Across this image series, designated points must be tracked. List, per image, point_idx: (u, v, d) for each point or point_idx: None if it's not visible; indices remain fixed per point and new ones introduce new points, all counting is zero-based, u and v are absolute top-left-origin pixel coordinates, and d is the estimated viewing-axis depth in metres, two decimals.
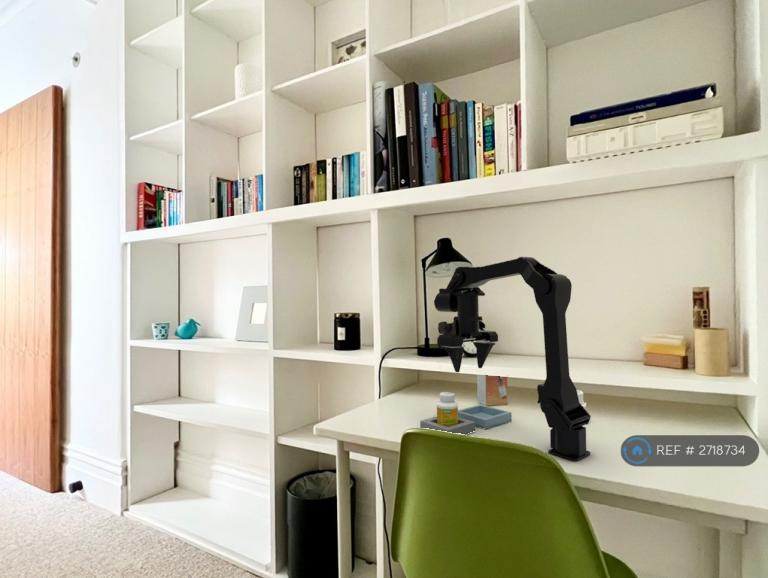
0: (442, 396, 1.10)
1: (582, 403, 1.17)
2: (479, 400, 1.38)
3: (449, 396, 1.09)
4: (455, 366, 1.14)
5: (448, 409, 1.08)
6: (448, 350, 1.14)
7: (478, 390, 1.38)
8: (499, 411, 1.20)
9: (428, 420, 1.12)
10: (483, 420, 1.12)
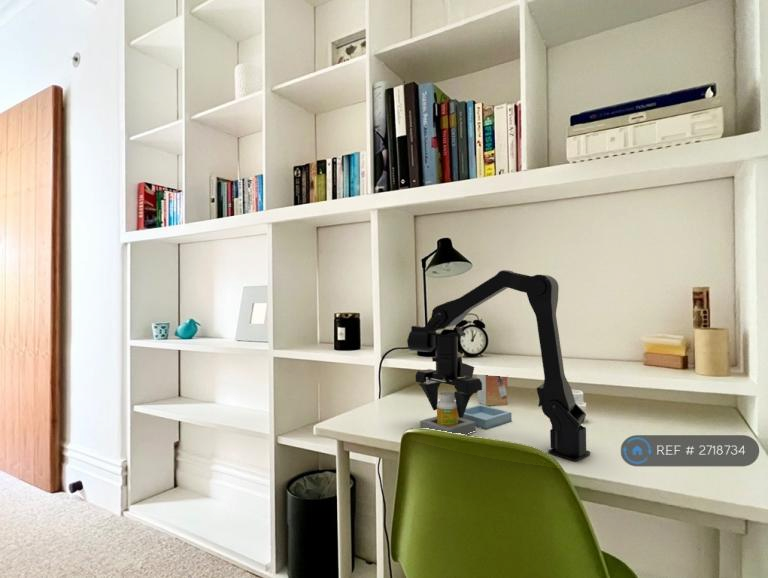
0: (442, 396, 1.10)
1: (582, 403, 1.17)
2: (479, 400, 1.38)
3: (449, 396, 1.09)
4: None
5: (448, 409, 1.08)
6: None
7: None
8: (499, 411, 1.20)
9: (428, 420, 1.12)
10: (483, 420, 1.12)
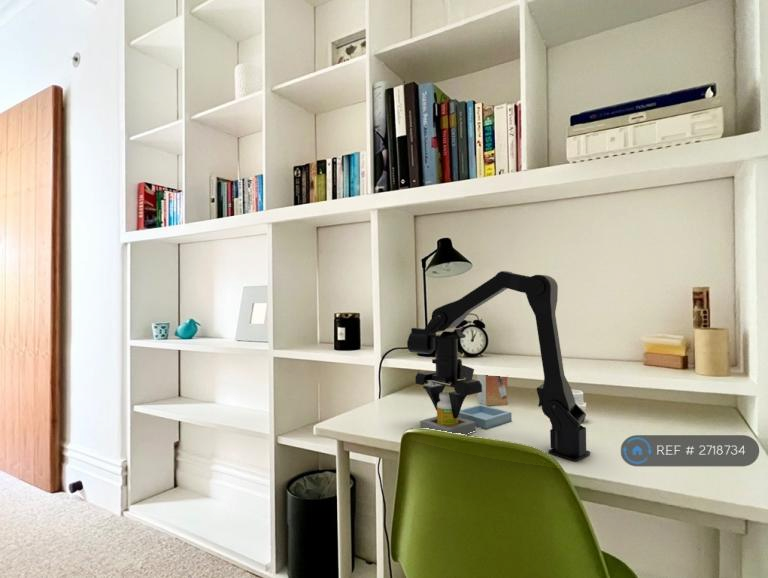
0: (442, 396, 1.10)
1: (582, 403, 1.17)
2: (479, 400, 1.38)
3: None
4: None
5: (448, 409, 1.08)
6: None
7: None
8: (499, 411, 1.20)
9: (428, 420, 1.12)
10: (483, 420, 1.12)
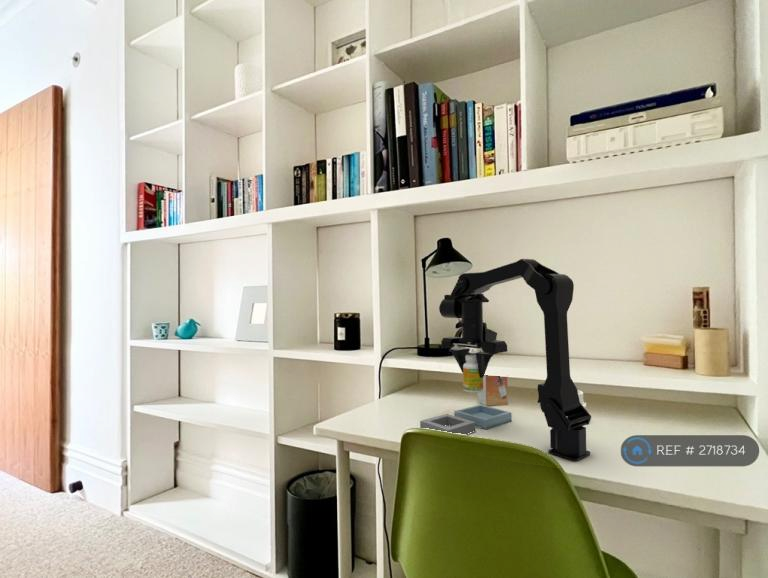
0: (468, 357, 1.16)
1: (582, 403, 1.17)
2: (479, 400, 1.38)
3: (475, 357, 1.15)
4: None
5: (475, 369, 1.15)
6: None
7: None
8: (499, 411, 1.20)
9: (428, 420, 1.12)
10: (483, 420, 1.12)
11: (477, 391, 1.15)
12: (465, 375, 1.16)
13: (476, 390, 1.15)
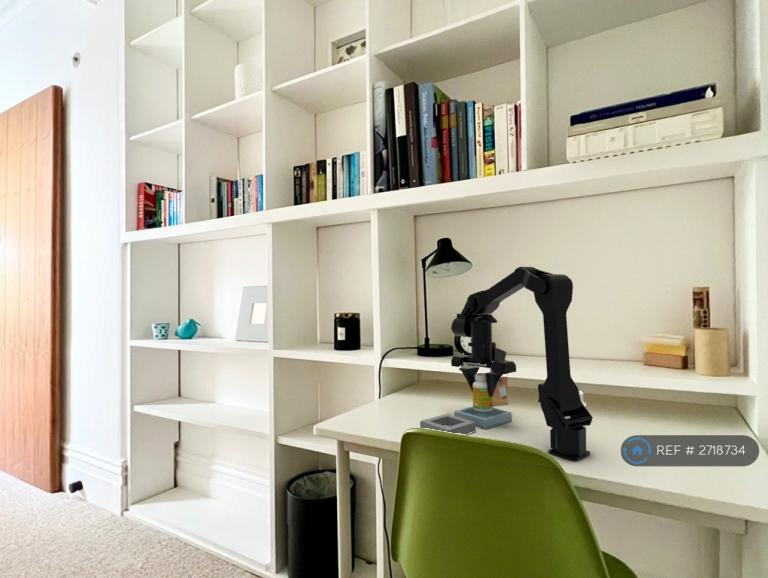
0: (478, 376, 1.18)
1: (582, 403, 1.17)
2: None
3: (485, 376, 1.18)
4: None
5: (484, 388, 1.17)
6: None
7: None
8: (499, 411, 1.20)
9: (428, 420, 1.12)
10: (483, 420, 1.12)
11: (486, 410, 1.17)
12: (475, 394, 1.18)
13: (485, 409, 1.17)
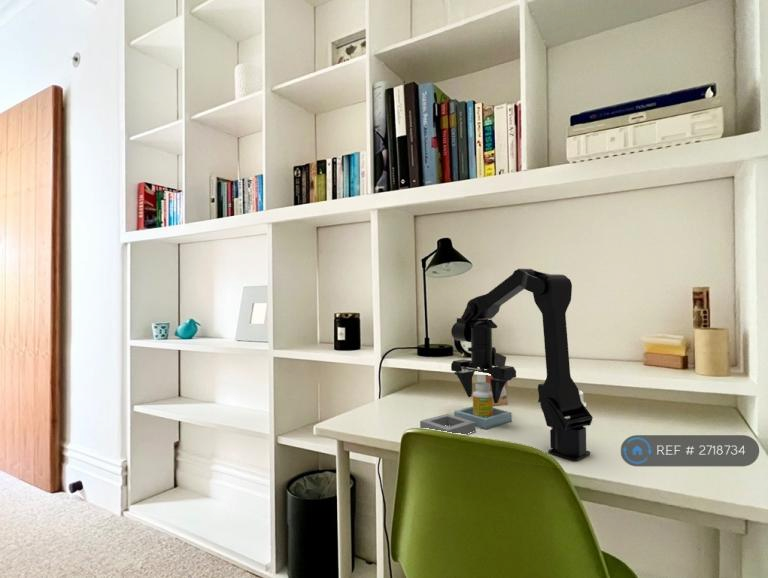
0: (478, 386, 1.18)
1: (582, 403, 1.17)
2: None
3: (485, 386, 1.18)
4: None
5: (484, 398, 1.17)
6: None
7: None
8: (499, 411, 1.20)
9: (428, 420, 1.12)
10: (483, 420, 1.12)
11: None
12: (475, 403, 1.18)
13: None
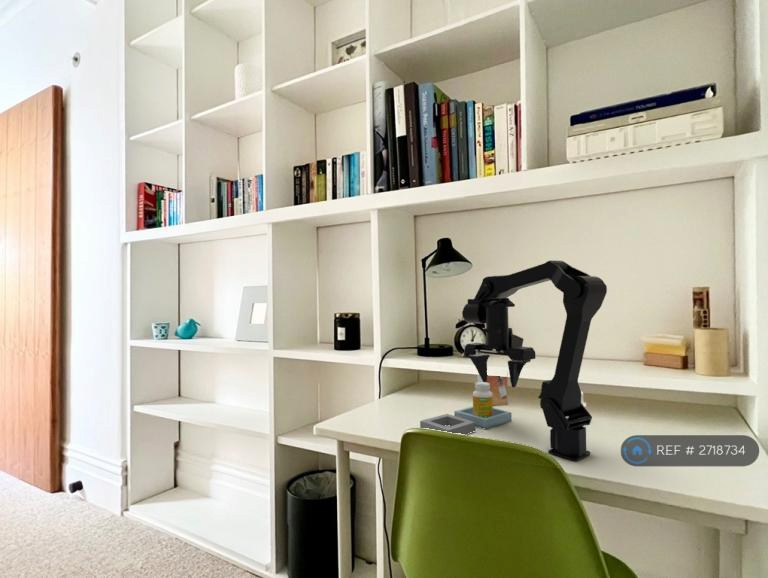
0: (478, 385, 1.18)
1: (582, 403, 1.17)
2: None
3: (485, 385, 1.18)
4: None
5: (484, 397, 1.17)
6: None
7: None
8: (499, 411, 1.20)
9: (428, 420, 1.12)
10: (483, 420, 1.12)
11: None
12: (475, 403, 1.18)
13: None
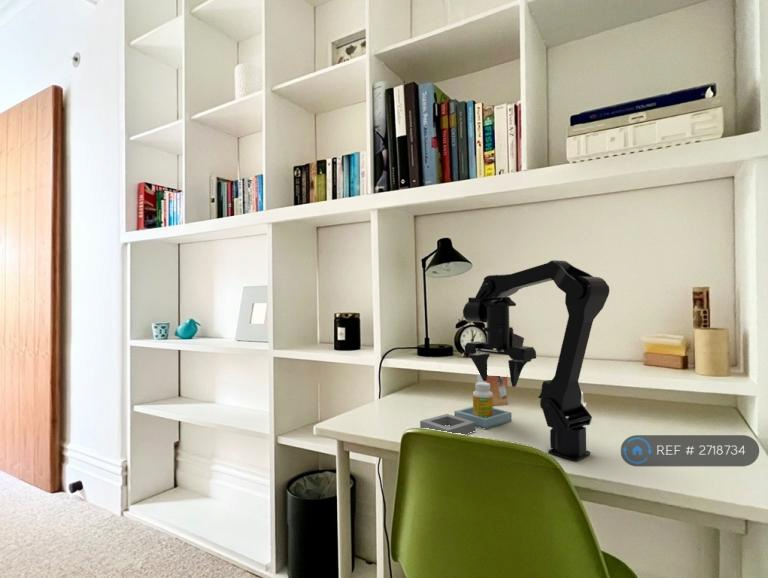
0: (478, 385, 1.18)
1: (582, 403, 1.17)
2: None
3: (485, 385, 1.18)
4: None
5: (484, 397, 1.17)
6: None
7: None
8: (499, 411, 1.20)
9: (428, 420, 1.12)
10: (483, 420, 1.12)
11: None
12: (475, 403, 1.18)
13: None
